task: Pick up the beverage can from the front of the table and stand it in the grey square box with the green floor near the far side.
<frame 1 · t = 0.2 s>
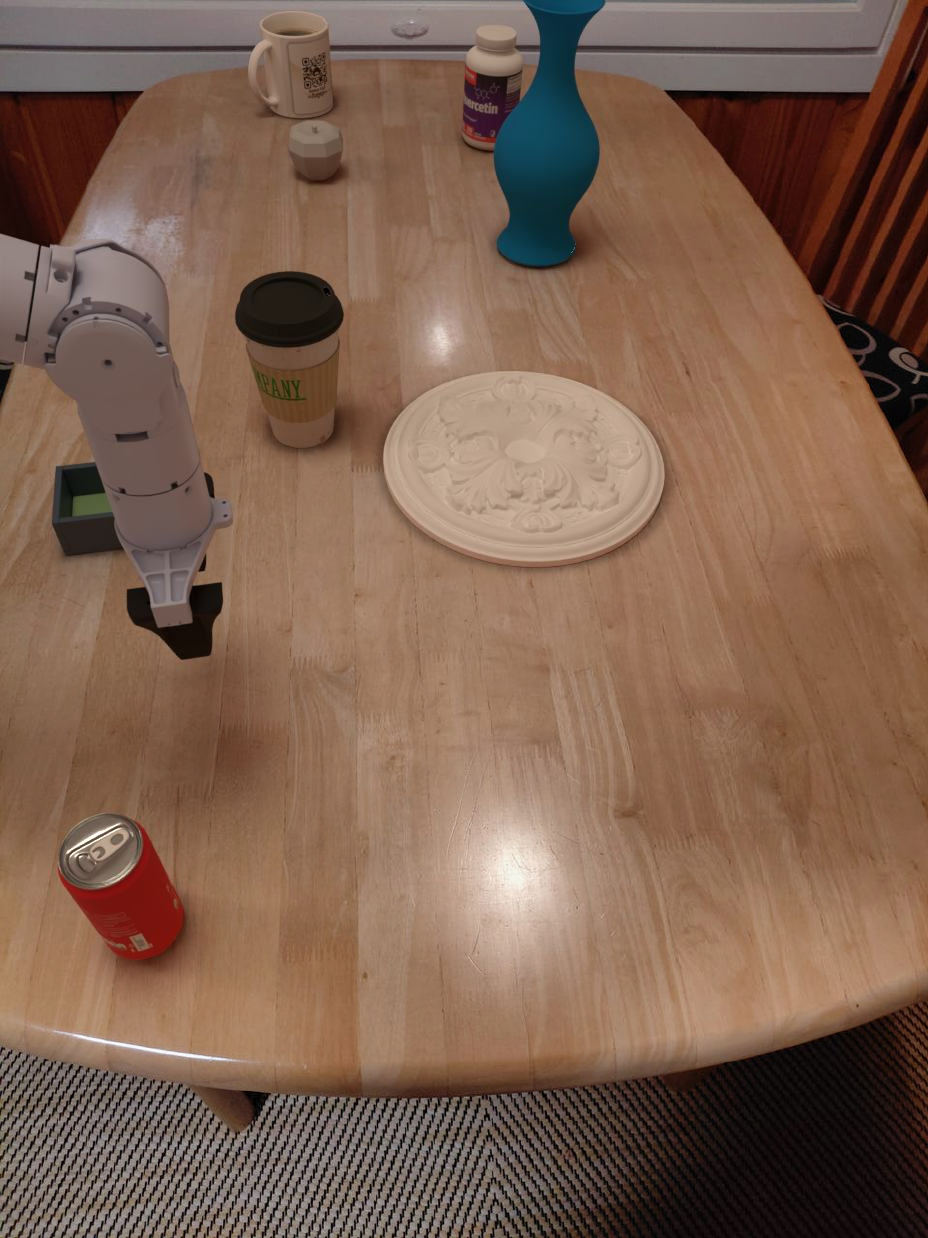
hand: (192, 610, 65), 12 cm above the table, tool pointing down, fingers open, 7 cm apart
beverage can: (147, 927, 63), on the table
vase: (535, 250, 119), on the table
ceiling medallion: (523, 464, 94), on the table
coffee cup: (303, 429, 95), on the table
pill bottle: (488, 142, 137), on the table
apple: (318, 176, 129), on the table
grey square box: (108, 521, 86), on the table
mug: (294, 107, 142), on the table
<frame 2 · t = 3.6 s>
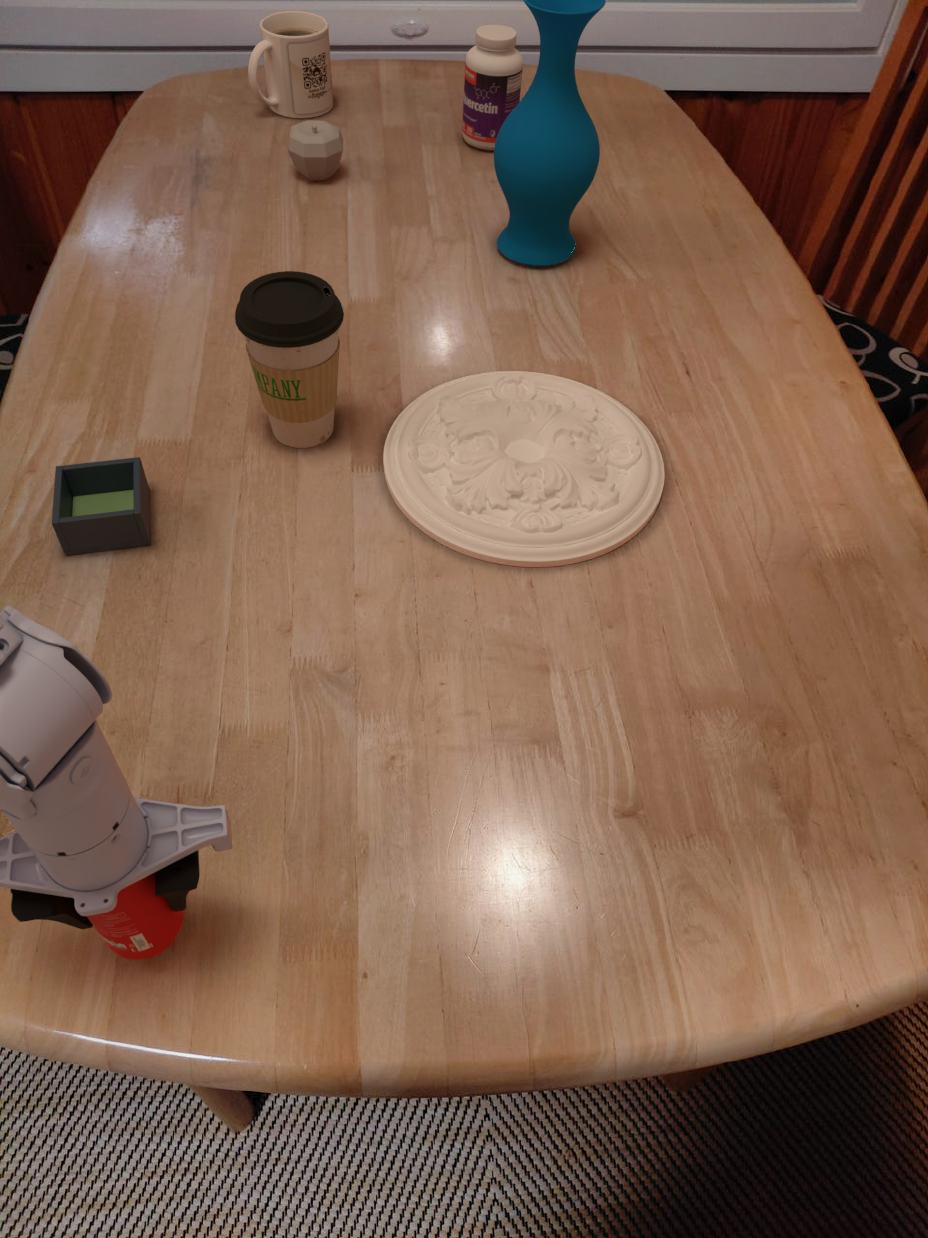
hand: (133, 905, 60), 4 cm above the table, tool pointing down, fingers closed on beverage can, 5 cm apart
beverage can: (148, 927, 63), on the table, touching gripper
everything else where it was.
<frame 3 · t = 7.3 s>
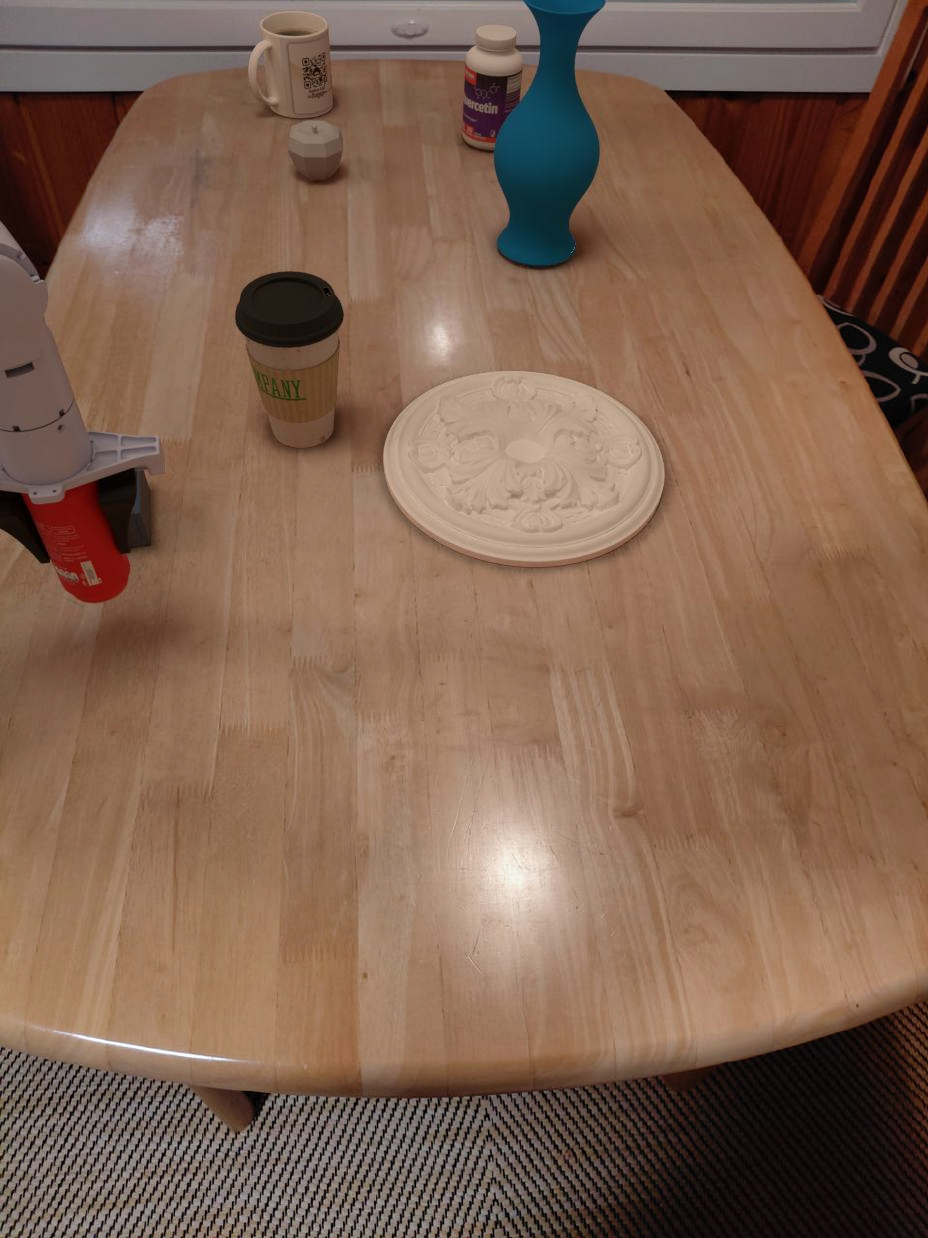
hand: (85, 548, 70), 10 cm above the table, tool pointing down, fingers closed on beverage can, 5 cm apart
beverage can: (100, 583, 73), point 6 cm above the table, touching gripper
everything else where it was.
when the fingers open (5 cm above the table, at t = 10.8 s): beverage can stays where it is, resting on grey square box.
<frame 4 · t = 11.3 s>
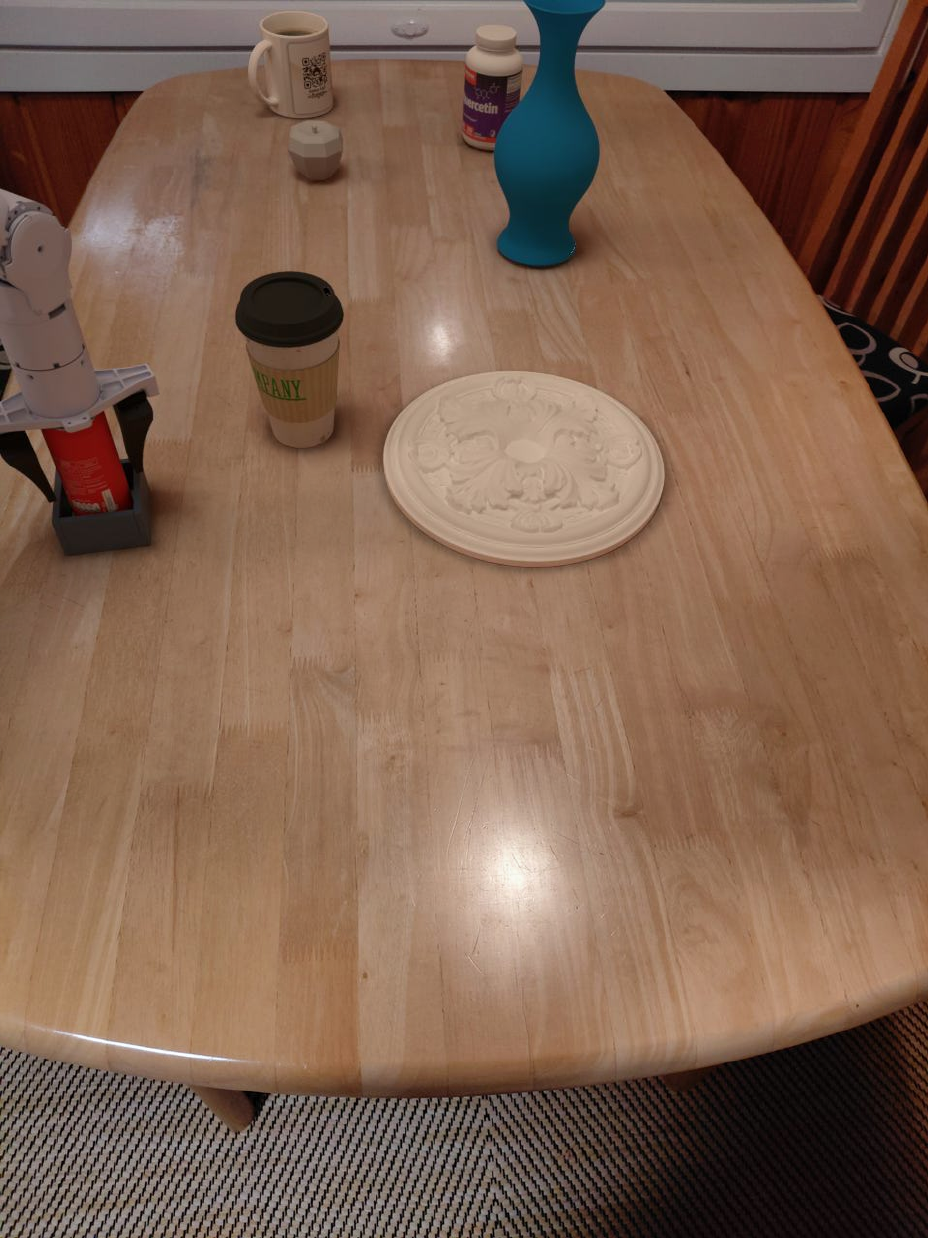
hand: (93, 480, 82), 5 cm above the table, tool pointing down, fingers open, 7 cm apart
beverage can: (107, 516, 85), point 1 cm above the table, touching grey square box
everything else where it was.
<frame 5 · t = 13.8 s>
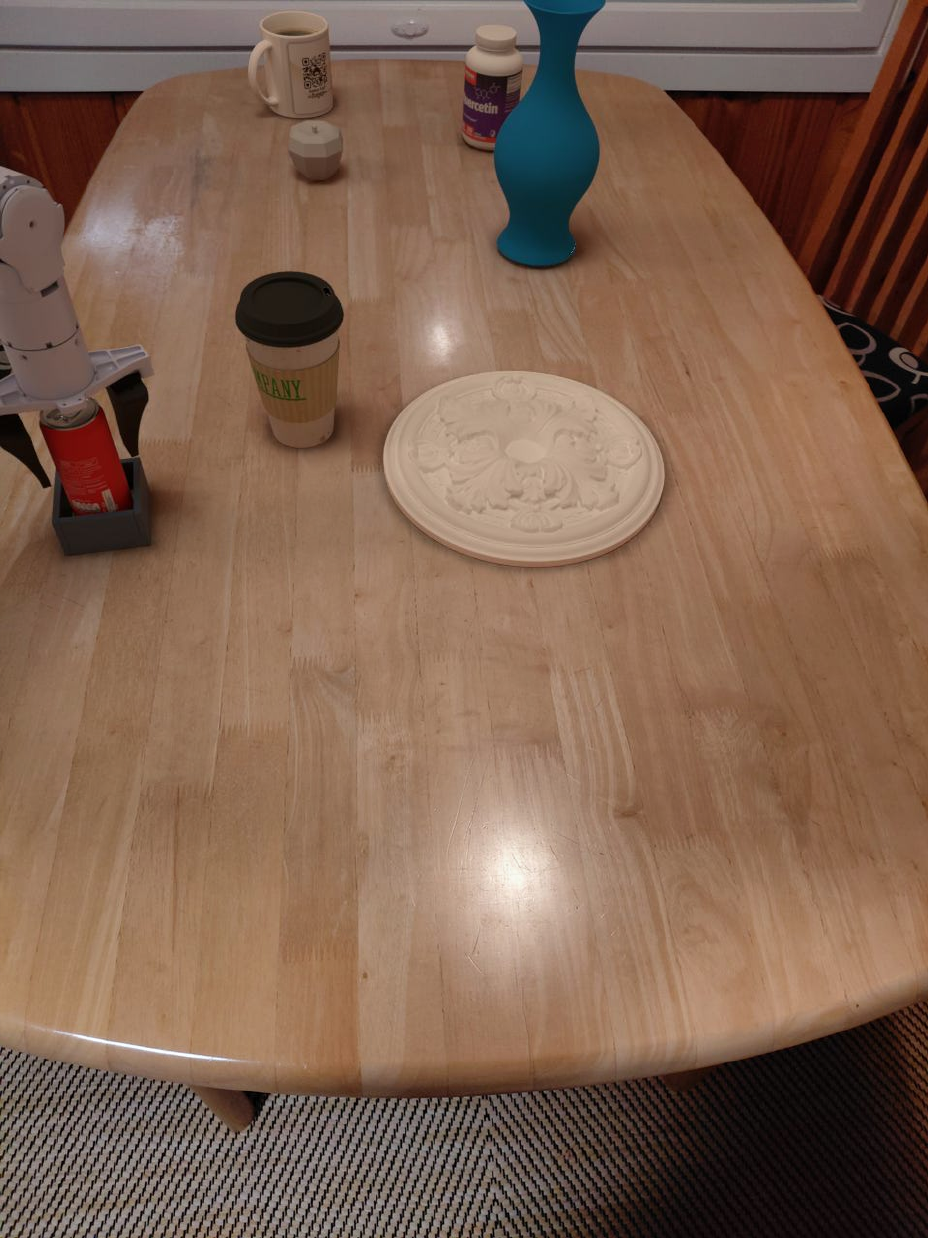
hand: (88, 464, 81), 7 cm above the table, tool pointing down, fingers open, 7 cm apart
nothing on the table moved.
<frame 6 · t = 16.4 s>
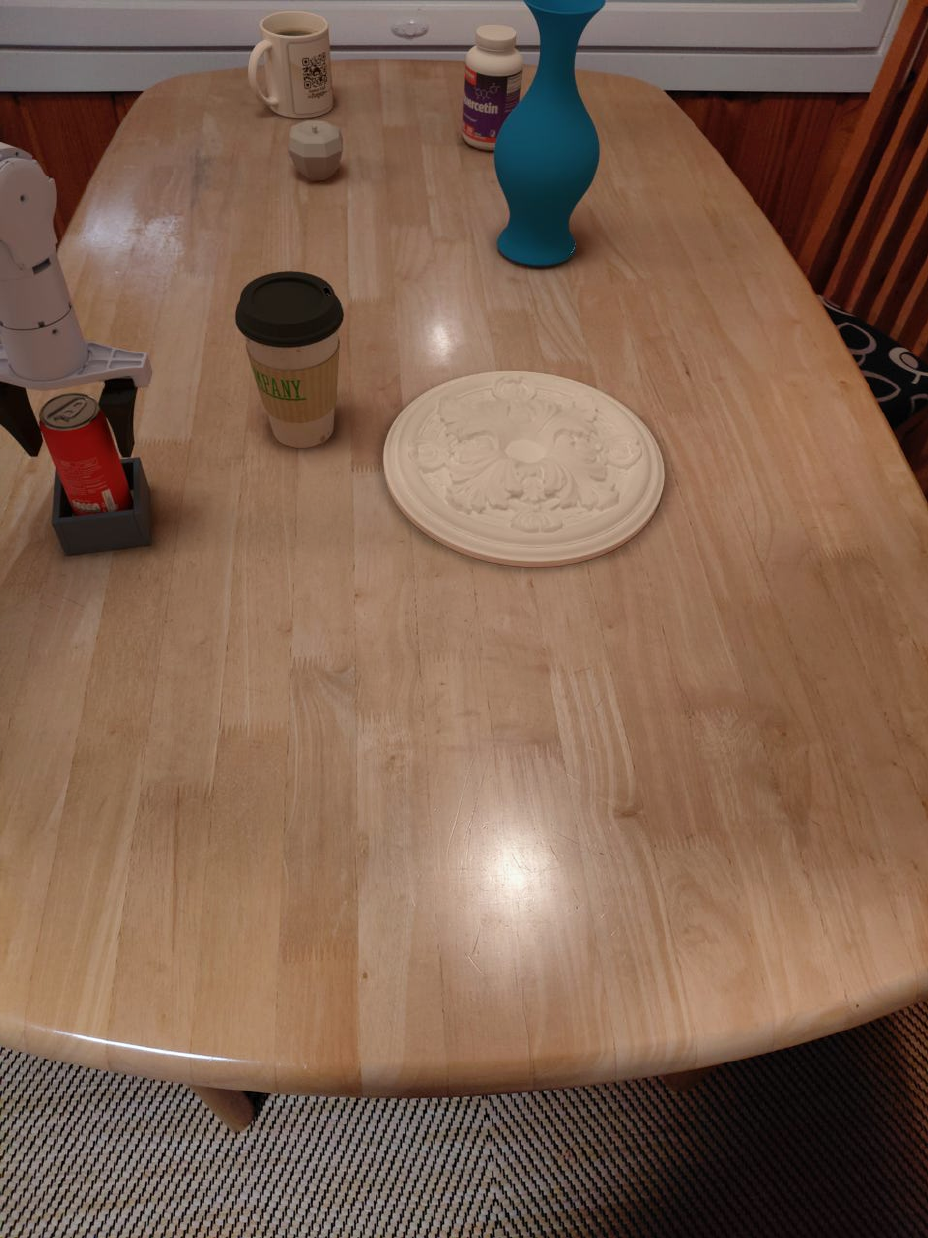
hand: (82, 449, 79), 9 cm above the table, tool pointing down, fingers open, 7 cm apart
nothing on the table moved.
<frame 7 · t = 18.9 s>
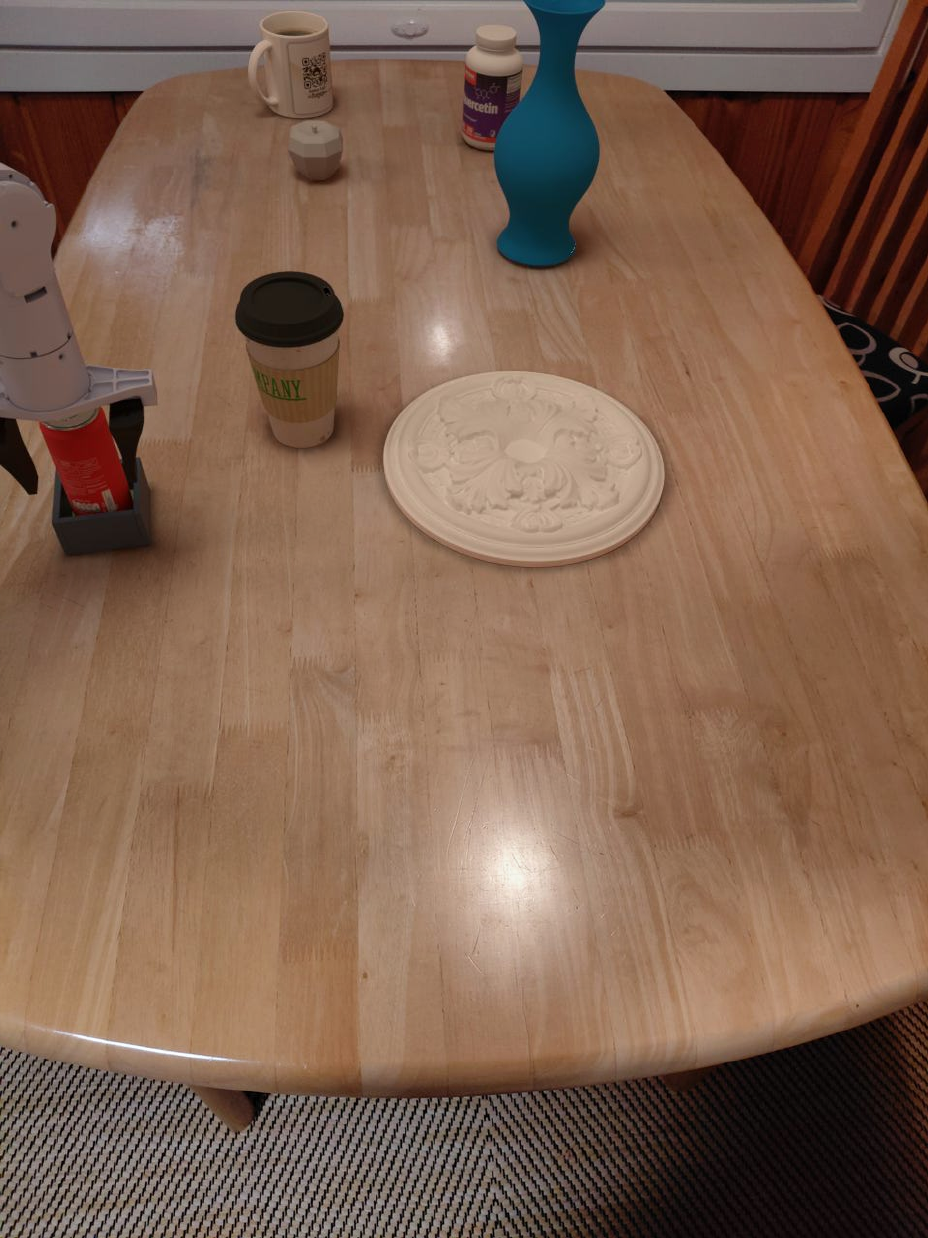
hand: (83, 480, 75), 10 cm above the table, tool pointing down, fingers open, 7 cm apart
nothing on the table moved.
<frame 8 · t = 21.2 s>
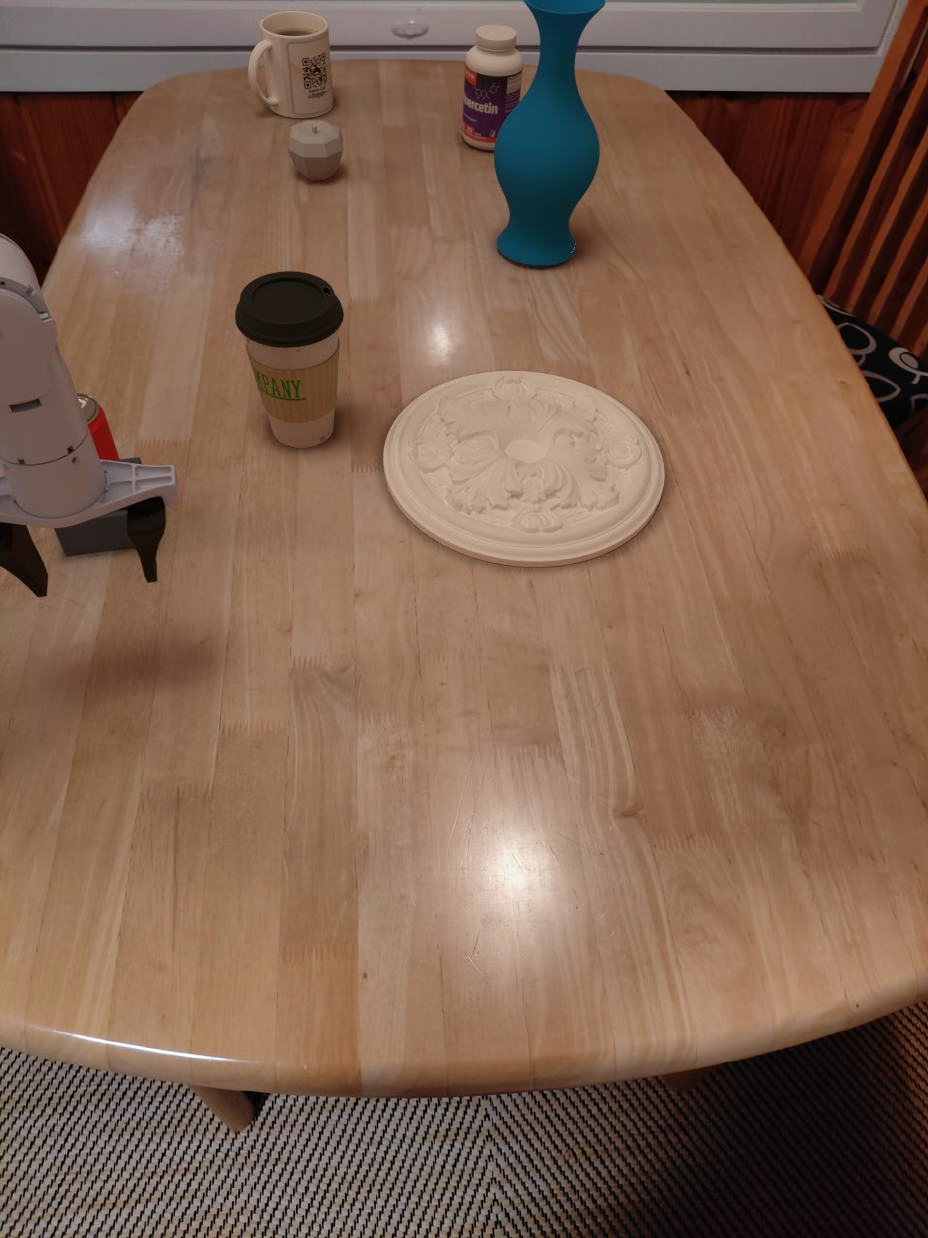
hand: (97, 579, 68), 10 cm above the table, tool pointing down, fingers open, 7 cm apart
nothing on the table moved.
at the end: beverage can 0.0 cm off-centre in the grey square box, point 0.6 cm above the grey square box's base; beverage can tilted 0°; the gripper is holding nothing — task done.
